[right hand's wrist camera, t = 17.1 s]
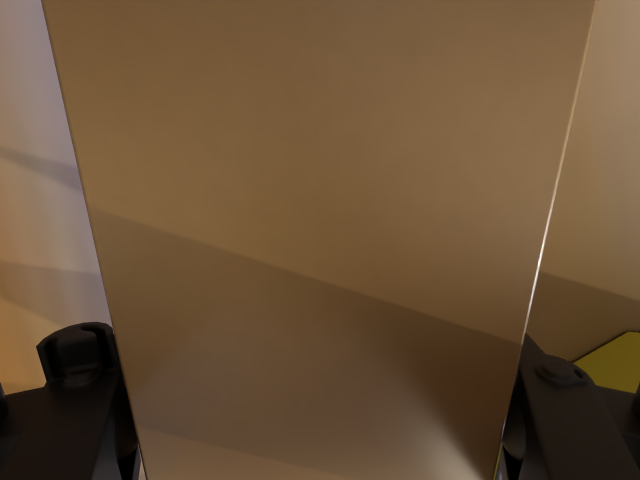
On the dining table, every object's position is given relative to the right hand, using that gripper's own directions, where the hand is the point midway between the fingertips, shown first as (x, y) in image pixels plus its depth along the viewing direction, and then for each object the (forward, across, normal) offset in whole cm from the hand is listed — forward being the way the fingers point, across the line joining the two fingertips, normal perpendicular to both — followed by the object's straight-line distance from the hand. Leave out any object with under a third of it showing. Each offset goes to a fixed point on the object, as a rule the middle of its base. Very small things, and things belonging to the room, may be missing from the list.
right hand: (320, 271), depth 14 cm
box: (+1, 0, -8) cm, 8 cm away
